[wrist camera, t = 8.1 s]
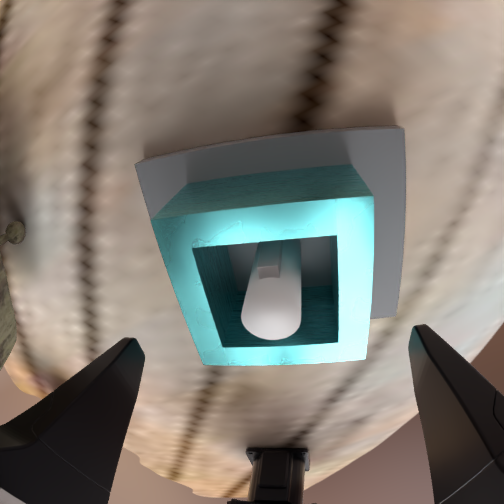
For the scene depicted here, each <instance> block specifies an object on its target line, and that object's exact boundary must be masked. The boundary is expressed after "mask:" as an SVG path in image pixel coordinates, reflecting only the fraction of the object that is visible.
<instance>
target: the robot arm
mask: <svg viewBox="0 0 504 504" xmlns="http://www.w3.org/2000/svg"><path fill="white" fill-rule="evenodd" d="M408 349H409V357H410V363H411V370H412V377H413V385H414V392H415V397H416V402H417V406H418V410H419V415H420V419H421V423H422V428H423V433H424V438H425V443H426V449H427V454H428V460H429V466H430V473H431V479H432V486H433V494H434V502H435V504H504V396H503V395H502V394H501V393H500V392H499V391H498V390H497V391H496V388H495V387H494V386H493V385H492V384H491V383H490V382H489V381H488V380H487V379H486V378H485V377H484V376H483V375H481V374H480V373H479V372H478V371H477V370H476V369H475V368H474V367H473V366H472V365H471V364H470V363H469V362H468V361H466V360H465V359H464V358H463V357H462V356H461V355H460V354H459V353H458V352H457V351H456V350H454V349H453V348H452V347H451V346H450V345H449V344H448V343H447V342H446V341H444V340H443V339H442V338H441V337H440V336H439V335H438V334H437V333H435V332H434V331H433V330H432V329H431V328H430V327H429V326H427V325H426V324H422V325H415V326H414V327H413V328H412V332H411V336H410V341H409V347H408ZM144 362H145V355H144V352H143V350H142V349H141V347H140V345H139V343H138V341H137V340H136V339H135V338H129V337H126V338H123V339H122V340H120V341H119V342H118V343H116V344H115V345H114V346H112V347H111V348H110V349H108V350H107V351H106V352H104V353H103V354H102V355H100V356H99V357H98V358H96V359H95V360H94V361H92V362H91V363H90V364H89V365H87V366H86V367H85V368H83V369H82V370H81V371H79V372H78V373H77V374H75V375H74V376H73V377H71V378H70V379H69V380H67V381H66V382H65V383H63V384H62V385H61V386H59V387H58V388H57V389H56V390H54V392H52V393H50V394H49V395H48V396H46V397H45V398H44V399H42V400H41V401H40V402H38V403H37V404H35V405H34V406H32V407H31V408H29V409H28V410H26V411H25V412H23V413H22V414H20V415H18V416H17V417H15V418H14V419H12V420H11V421H9V422H7V423H6V424H4V425H1V426H0V504H108V500H109V496H110V492H111V488H112V484H113V480H114V476H115V472H116V468H117V464H118V461H119V457H120V453H121V450H122V446H123V443H124V439H125V436H126V433H127V429H128V426H129V422H130V419H131V416H132V412H133V409H134V406H135V403H136V399H137V396H138V391H139V386H140V381H141V377H142V372H143V367H144ZM246 454H247V456H248V458H249V460H250V462H251V464H252V466H253V468H252V474H251V480H250V487H249V493H248V499H247V501H240V500H237V499H232V500H231V501H228V502H227V504H302V503H303V490H304V475H305V471H309V468H310V467H309V453H308V450H307V449H253V448H248V449H246ZM313 504H316V503H313Z"/></svg>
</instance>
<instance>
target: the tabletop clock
mask: <svg viewBox="0 0 504 504" xmlns="http://www.w3.org/2000/svg"><path fill="white" fill-rule="evenodd" d="M25 234H26V231H25V227H24V225H23V224H22V223H20V222H18V221H14V222H12V223H10V224H9V225H8V226H7V229H6V234H3V235H1V236H0V246H1V245H2V244H4V243H5V242H7V241H9V242H10V243H12V244H19V243H21V242H22V241H23V240H24V238H25ZM15 342H16V320H15V315H14V310H13V306H12V302H11V297H10V293H9V288H8V283H7V278H6V273H5V269H4V265H3V261H2V257H1V253H0V370H1V369H2V367H3V365H4V363H5V362H6V360H7V358H8V356H9V355H10V353H11V351H12V348H13V346H14V344H15Z"/></svg>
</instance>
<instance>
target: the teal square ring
mask: <svg viewBox="0 0 504 504" xmlns="http://www.w3.org/2000/svg"><path fill="white" fill-rule="evenodd" d="M151 223H152V227H153V230H154V233H155V236H156V239H157V242H158V245H159V248H160V251H161V254H162V257H163V260H164V263H165V266H166V269H167V272H168V275H169V277H170V280H171V283H172V286H173V288H174V291H175V294H176V297H177V299H178V302H179V305H180V307H181V310H182V313H183V315H184V318H185V320H186V323H187V325H188V328H189V331H190V333H191V336H192V338H193V341H194V343H195V345H196V348H197V350H198V353H199V355H200V357H201V360H202V362H203V365H233V366H252V365H292V364H312V363H327V362H340V361H351V360H361V359H365V358H366V350H367V341H368V332H369V321H370V310H371V297H372V280H373V257H374V195H373V194H372V192H371V191H370V189H369V188H368V187H367V185H366V184H365V182H364V181H363V179H362V178H361V176H360V175H359V174H358V172H357V171H356V169H355V168H354V166H353V165H352V164H346V165H333V166H321V167H310V168H300V169H290V170H281V171H272V172H264V173H256V174H248V175H241V176H233V177H226V178H219V179H213V180H206V181H200V182H194V183H188V184H186V185H185V186H184V187H183V188H182V189H181V190H180V191H179V192H178V193H177V194H176V195H175V196H174V197H173V198H172V199H171V200H170V201H169V202H168V203H167V204H166V205H165V206H164V207H163V208H162V209H161V210H160V211H159V212H158V213H157V214H156V215H155V216H154V217H153V218H152V219H151ZM319 236H329V238H330V256H331V281H332V285H325V286H312V287H301V323H300V326H299V328H298V329H297V331H296V332H295V333H293V334H292V335H290V336H289V337H286V338H283V339H279V340H267V339H263V338H259V337H257V336H255V335H253V334H252V333H250V332H249V331H248V330H247V329H246V328H245V326H244V325H243V323H242V319H241V313H242V308H243V304H244V300H245V296H246V292H247V291H238V289H237V285H236V281H235V276H234V272H233V268H232V264H231V259H230V255H229V251H228V247H227V245H229V244H240V243H251V242H262V241H273V240H285V239H296V238H308V237H319Z"/></svg>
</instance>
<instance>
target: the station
mask: <svg viewBox="0 0 504 504" xmlns="http://www.w3.org/2000/svg"><path fill="white" fill-rule="evenodd" d="M346 164H352V165H353V166H354V168H355V169H356V171H357V172H358V174H359V175H360V176H361V178H362V179H363V181H364V182H365V184H366V185H367V187H368V188H369V189H370V191H371V192H372V194H373V195H374V257H373V280H372V297H371V310H370V319H376V318H385V317H394V316H396V313H397V306H398V299H399V291H400V282H401V272H402V262H403V249H404V234H405V211H406V157H405V135H404V128H401V127H399V126H371V127H352V128H337V129H324V130H313V131H303V132H294V133H285V134H277V135H270V136H262V137H255V138H249V139H242V140H236V141H230V142H224V143H218V144H213V145H207V146H202V147H197V148H192V149H187V150H182V151H178V152H173V153H168V154H164V155H160V156H155V157H151V158H147V159H143V160H142V161H140V162H138V163H136V164H135V168H136V171H137V175H138V179H139V182H140V186H141V189H142V192H143V196H144V199H145V203H146V206H147V209H148V212H149V216H150V219H152V218H153V217H154V216H155V215H156V214H157V213H158V212H159V211H160V210H161V209H162V208H163V207H164V206H165V205H166V204H167V203H168V202H169V201H170V200H171V199H172V198H173V197H174V196H175V195H176V194H177V193H178V192H179V191H180V190H181V189H182V188H183V187H184V186H185V185H186V184H188V183H194V182H200V181H206V180H213V179H219V178H226V177H233V176H241V175H248V174H256V173H264V172H272V171H281V170H290V169H300V168H310V167H321V166H333V165H346ZM227 247H228V251H229V255H230V259H231V264H232V268H233V272H234V276H235V281H236V285H237V289H238V291H247V292H246V296H245V300H244V304H243V308H242V313H241V319H242V323H243V325H244V326H245V328H246V329H247V330H248V331H249V332H250V333H252V334H253V335H255V336H257V337H259V338H263V339H267V340H279V339H283V338H286V337H289V336H290V335H292V334H293V333H295V332H296V331H297V329H298V328H299V326H300V323H301V287H312V286H325V285H332V281H331V256H330V238H329V236H319V237H308V238H296V239H285V240H273V241H262V242H251V243H240V244H229V245H227Z"/></svg>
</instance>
